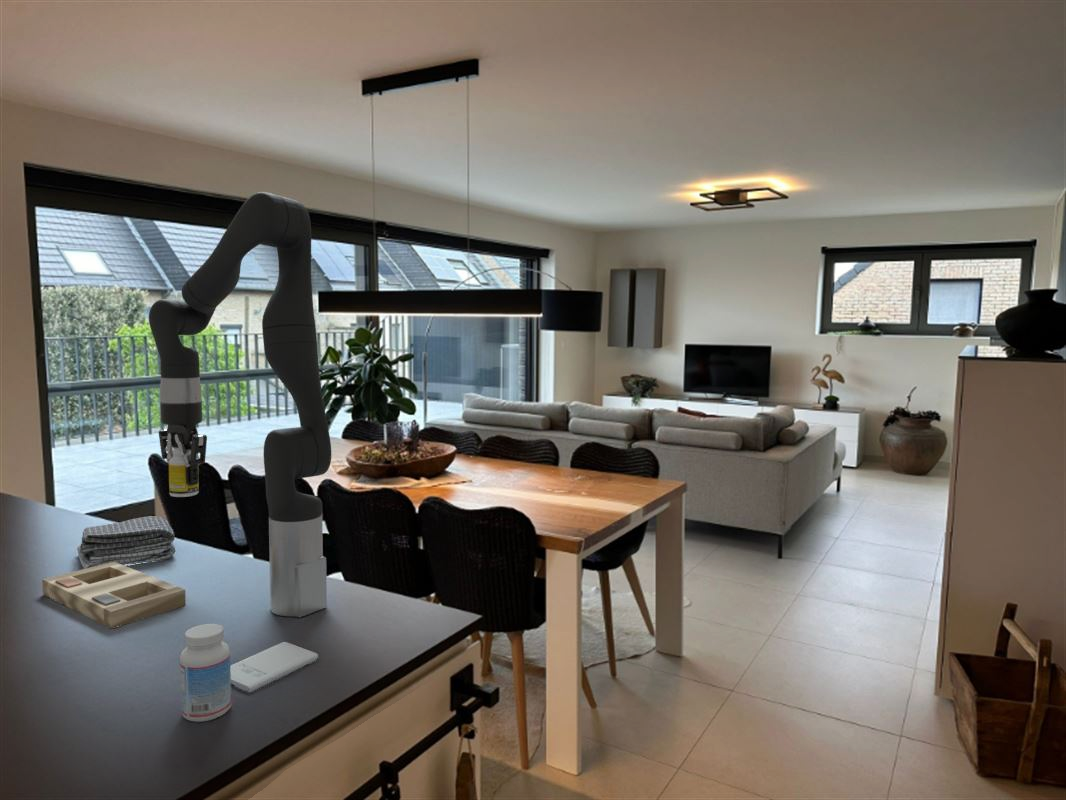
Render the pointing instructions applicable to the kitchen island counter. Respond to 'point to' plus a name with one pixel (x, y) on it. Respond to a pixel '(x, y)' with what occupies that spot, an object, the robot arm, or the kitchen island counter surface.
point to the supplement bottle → (180, 477)
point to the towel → (127, 542)
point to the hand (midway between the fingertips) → (183, 482)
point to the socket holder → (114, 593)
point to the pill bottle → (205, 674)
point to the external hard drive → (269, 665)
